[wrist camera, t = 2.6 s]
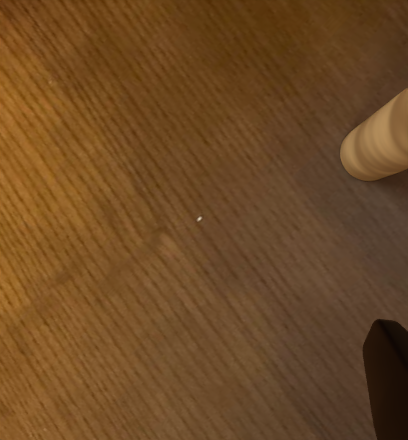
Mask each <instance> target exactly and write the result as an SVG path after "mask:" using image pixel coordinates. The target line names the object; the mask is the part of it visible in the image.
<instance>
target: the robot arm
mask: <svg viewBox="0 0 408 440" xmlns="http://www.w3.org/2000/svg"><path fill="white" fill-rule="evenodd" d="M363 359H364V366H365V372H366V379H367V385H368V392H369V399H370V405H371V412H372V418H373V423H374V428H375V432H376V437H377V440H408V331H407V330H406V329H405V328H404V327H402V326H401V325H400V324H399V323H398V322H396V321H392V320H383V319H377V320H375V321H374V322H373V324H372V326H371V329H370V331H369V333H368V335H367V338H366V340H365V342H364V345H363Z"/></svg>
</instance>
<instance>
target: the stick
mask: <svg viewBox="0 0 408 440" xmlns="http://www.w3.org/2000/svg"><path fill="white" fill-rule="evenodd" d="M340 157H341V161H342V164H343V166H344V168H345V169H346V171H347V172H348V173H349V174H350V175H352V176H353V177H355V178H357V179H360V180H363V181H374V180H378V179H381V178H384V177H387V176H389V175H392V174H395V173H398V172H401V171H404V170H407V169H408V88H406V89H405V90H404V91H402V92H401V93H400V94H399V95H397V96H396V97H395V98H393V99H392V100H391V101H390V102H388V103H387V104H386V105H384V106H383V107H382V108H381V109H379V110H378V111H377V112H376V113H374V114H373V115H372V116H370V117H369V118H368V119H367V120H365V121H364V122H363V123H361V124H360V125H359V126H358V127H356V128H355V129H354V130H352V131H351V132H350V133H349V134H348V135H347V136H346V137H345V139H344V140H343V143H342V145H341V150H340Z"/></svg>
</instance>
